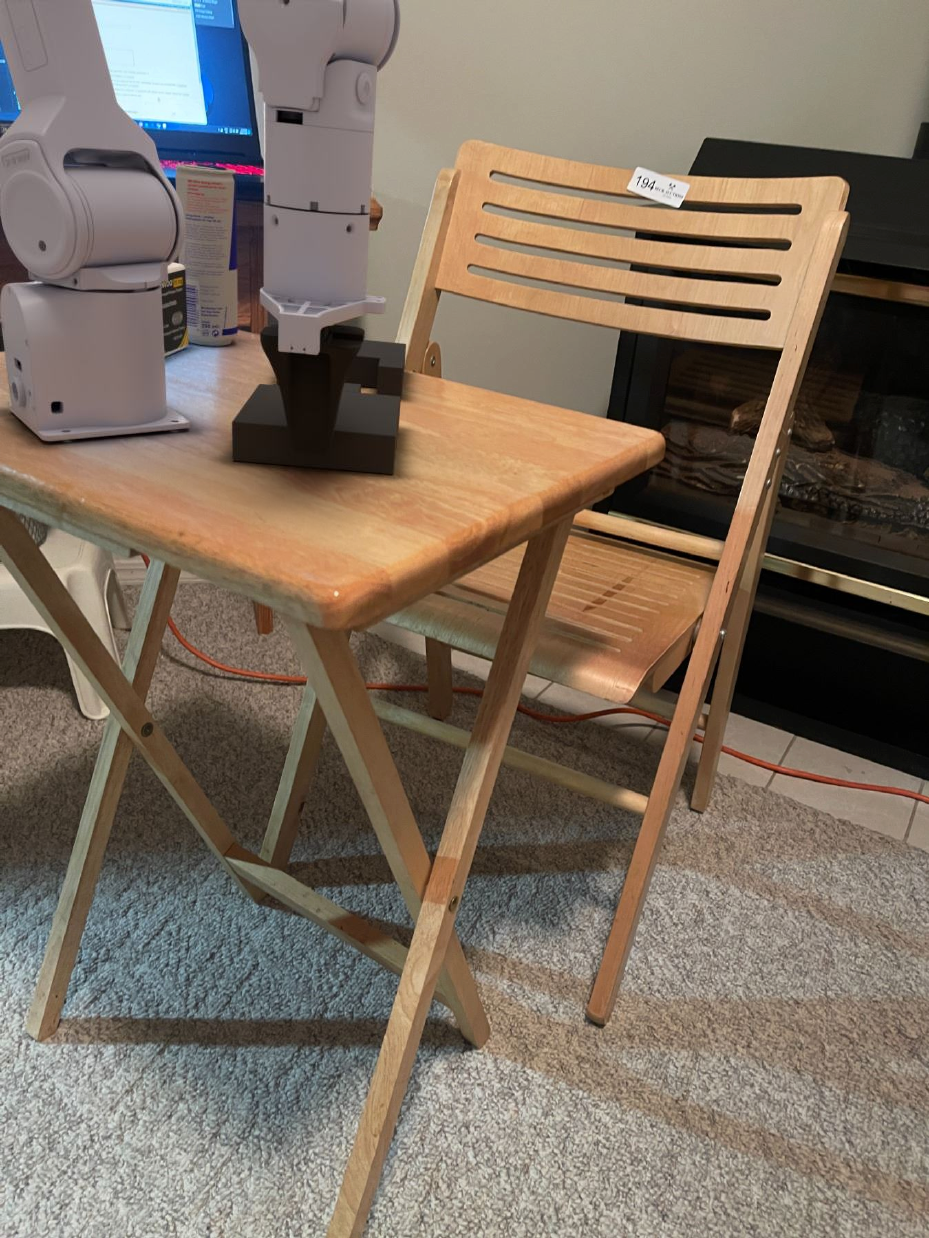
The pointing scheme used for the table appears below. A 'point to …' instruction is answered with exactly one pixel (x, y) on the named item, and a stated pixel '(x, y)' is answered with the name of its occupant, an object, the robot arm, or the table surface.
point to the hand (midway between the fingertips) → (311, 450)
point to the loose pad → (356, 441)
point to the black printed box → (174, 309)
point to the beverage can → (209, 252)
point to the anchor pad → (379, 367)
